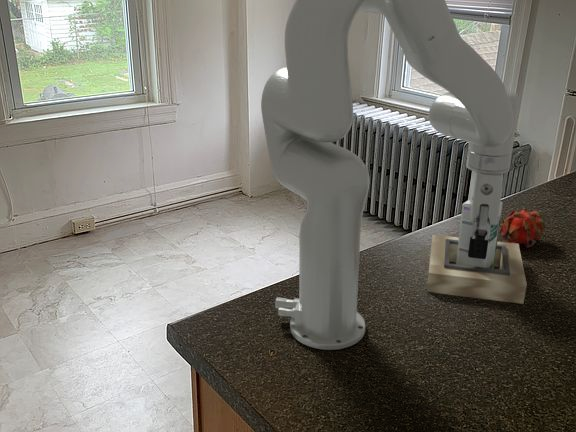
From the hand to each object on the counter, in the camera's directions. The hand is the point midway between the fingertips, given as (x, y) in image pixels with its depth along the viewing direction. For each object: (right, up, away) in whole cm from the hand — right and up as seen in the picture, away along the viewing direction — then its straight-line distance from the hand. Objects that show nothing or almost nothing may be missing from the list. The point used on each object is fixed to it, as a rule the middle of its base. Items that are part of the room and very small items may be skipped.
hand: (476, 247), depth 114 cm
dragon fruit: (+14, 0, +15) cm, 21 cm away
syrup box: (0, -5, +2) cm, 5 cm away
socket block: (0, -6, +3) cm, 6 cm away
